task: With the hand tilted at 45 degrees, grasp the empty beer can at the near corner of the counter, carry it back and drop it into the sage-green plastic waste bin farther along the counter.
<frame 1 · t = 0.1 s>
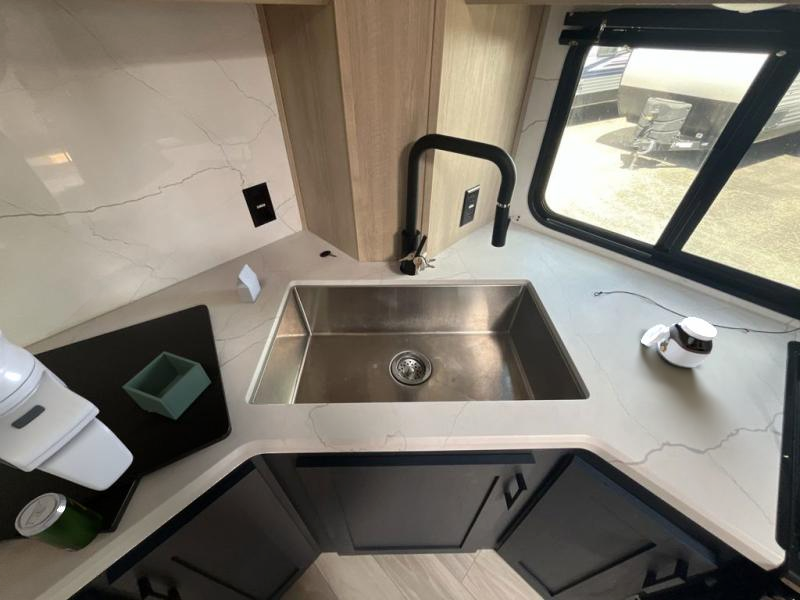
hand: (84, 464, 40), 24 cm above the worktop, tool pointing down, fingers open, 8 cm apart
beer can: (89, 534, 54), on the worktop
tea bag: (251, 296, 102), on the worktop
spread jar: (663, 353, 88), on the worktop
bin: (179, 397, 74), on the worktop
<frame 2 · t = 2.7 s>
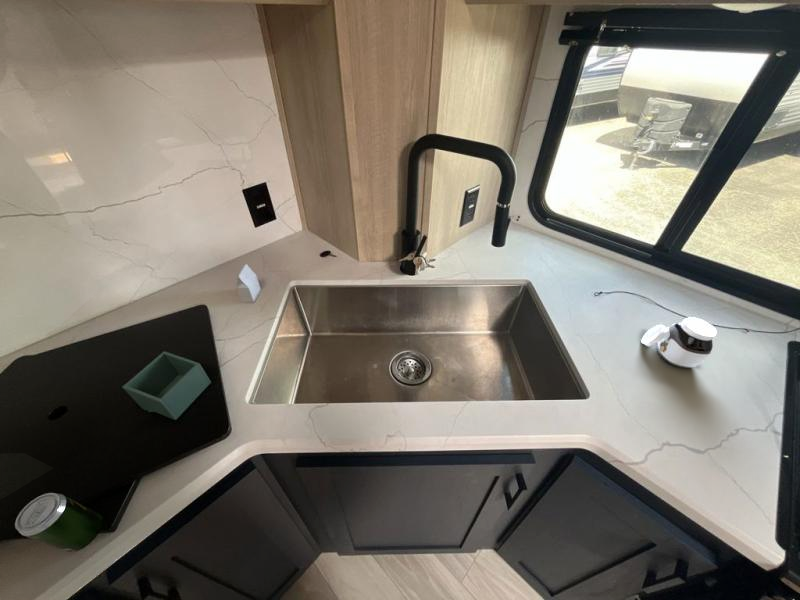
nothing on the worktop moved.
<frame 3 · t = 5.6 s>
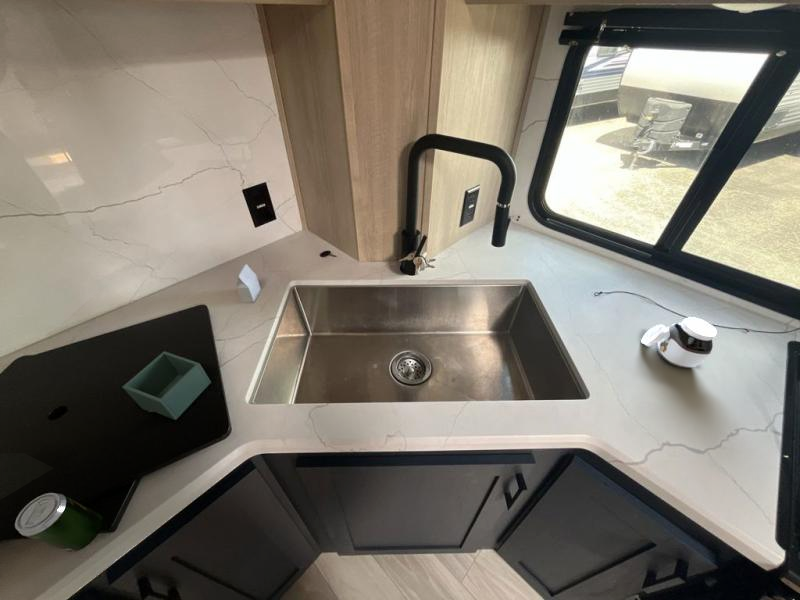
nothing on the worktop moved.
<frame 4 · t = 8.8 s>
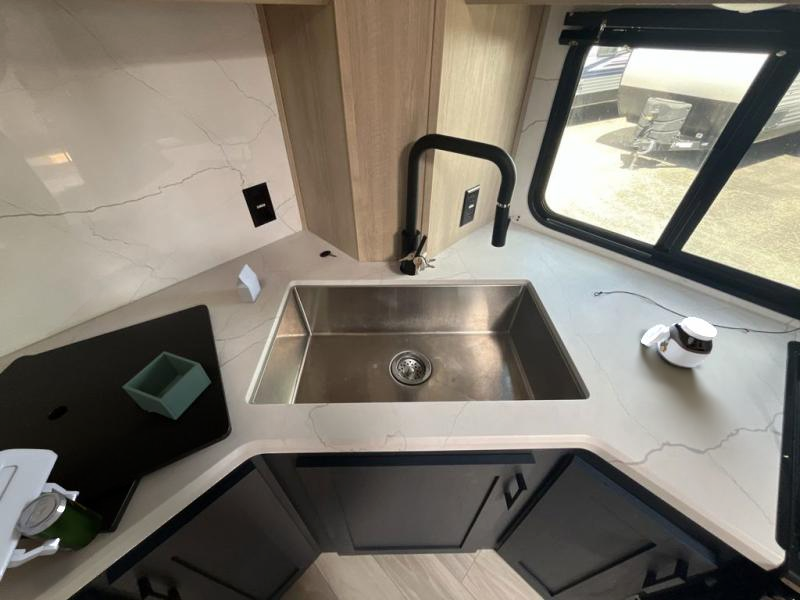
hand: (67, 520, 50), 7 cm above the worktop, tool tilted 45°, fingers closed on beer can, 5 cm apart
beer can: (89, 534, 54), on the worktop, touching gripper
everything else where it was.
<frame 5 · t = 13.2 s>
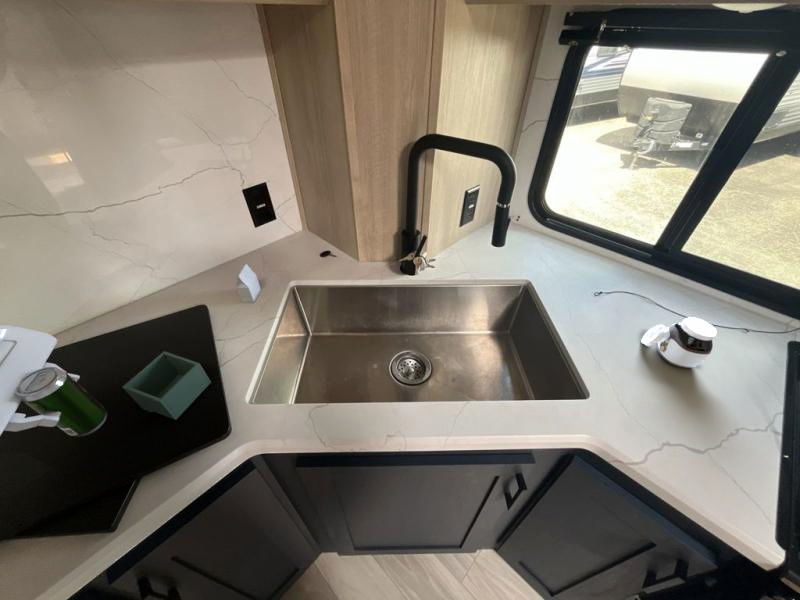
hand: (68, 399, 49), 22 cm above the worktop, tool tilted 45°, fingers closed on beer can, 5 cm apart
beer can: (90, 423, 54), point 15 cm above the worktop, touching gripper
everything else where it was.
when the fingers open (14 cm above the worktop, at t = 17.6 s): beer can drops 7 cm, resting on bin.
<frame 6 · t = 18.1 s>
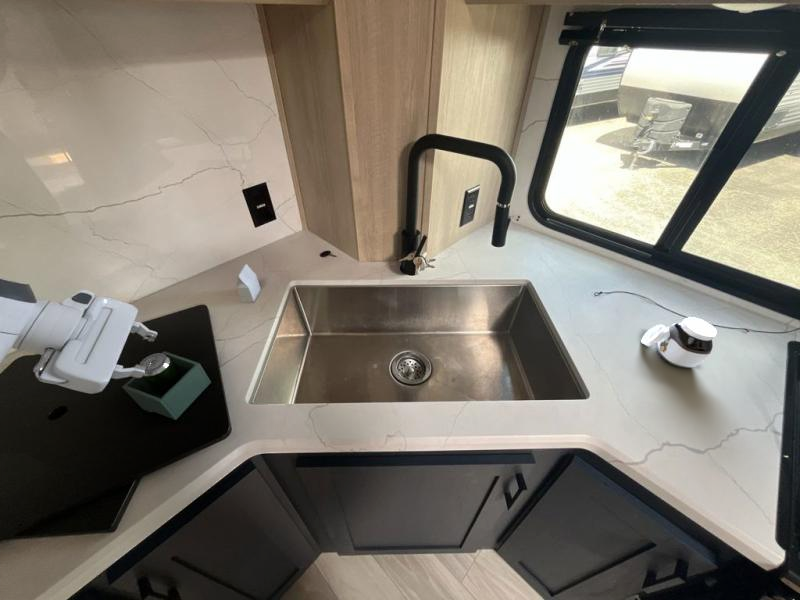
hand: (150, 354, 64), 15 cm above the worktop, tool tilted 45°, fingers open, 8 cm apart
beer can: (178, 395, 74), resting on bin
everything else where it was.
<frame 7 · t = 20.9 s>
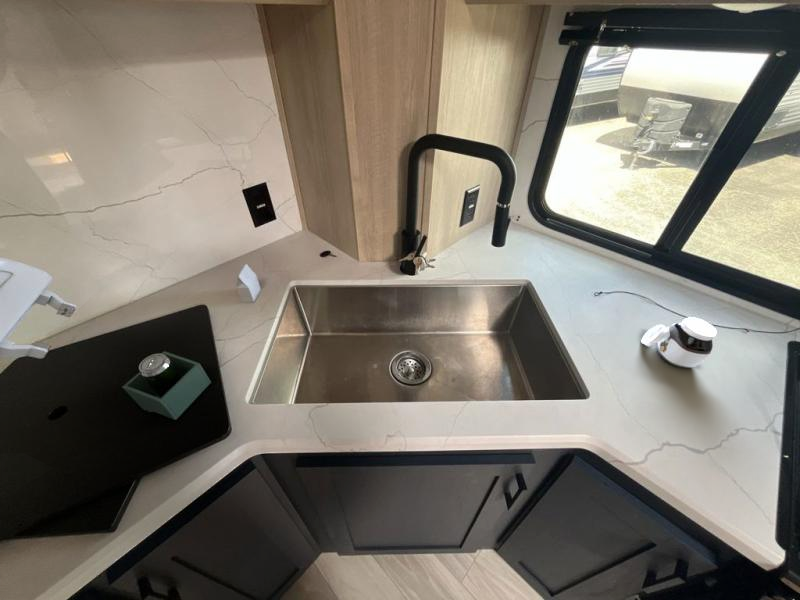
hand: (61, 330, 52), 28 cm above the worktop, tool tilted 45°, fingers open, 8 cm apart
nothing on the worktop moved.
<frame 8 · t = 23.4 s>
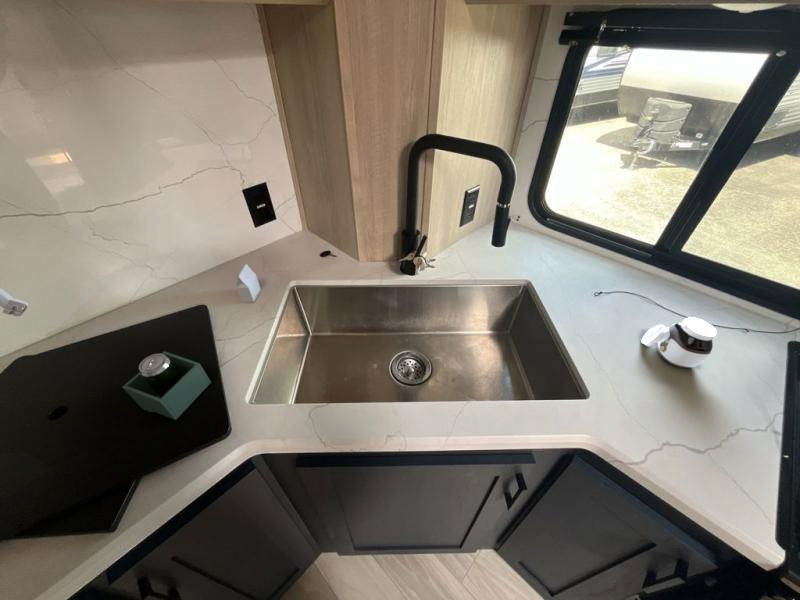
hand: (6, 333, 43), 34 cm above the worktop, tool tilted 45°, fingers open, 8 cm apart
nothing on the worktop moved.
at the end: beer can inside the target area in the bin (0.1 cm from its centre), point 0.4 cm above the bin's base; the gripper is holding nothing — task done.
